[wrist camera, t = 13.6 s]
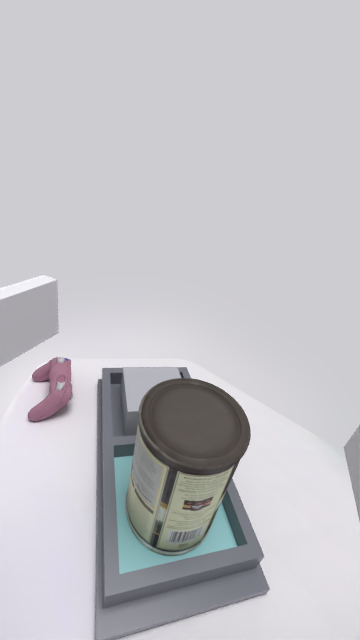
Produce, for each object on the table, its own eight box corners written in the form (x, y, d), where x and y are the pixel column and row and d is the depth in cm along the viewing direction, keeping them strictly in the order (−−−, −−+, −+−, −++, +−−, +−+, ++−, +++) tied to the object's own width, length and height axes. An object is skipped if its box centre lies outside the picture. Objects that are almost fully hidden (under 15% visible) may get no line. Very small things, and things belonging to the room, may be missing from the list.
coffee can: (176, 447, 38) (199, 366, 31) (231, 515, 31) (273, 432, 25) (107, 487, 32) (117, 397, 25) (157, 584, 25) (188, 495, 18)
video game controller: (57, 428, 40) (80, 394, 38) (24, 423, 38) (48, 386, 36) (57, 382, 48) (76, 352, 46) (30, 375, 45) (49, 343, 44)
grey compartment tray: (185, 381, 52) (192, 356, 49) (266, 593, 27) (288, 565, 24) (98, 383, 47) (99, 355, 45) (95, 645, 22) (99, 617, 19)
